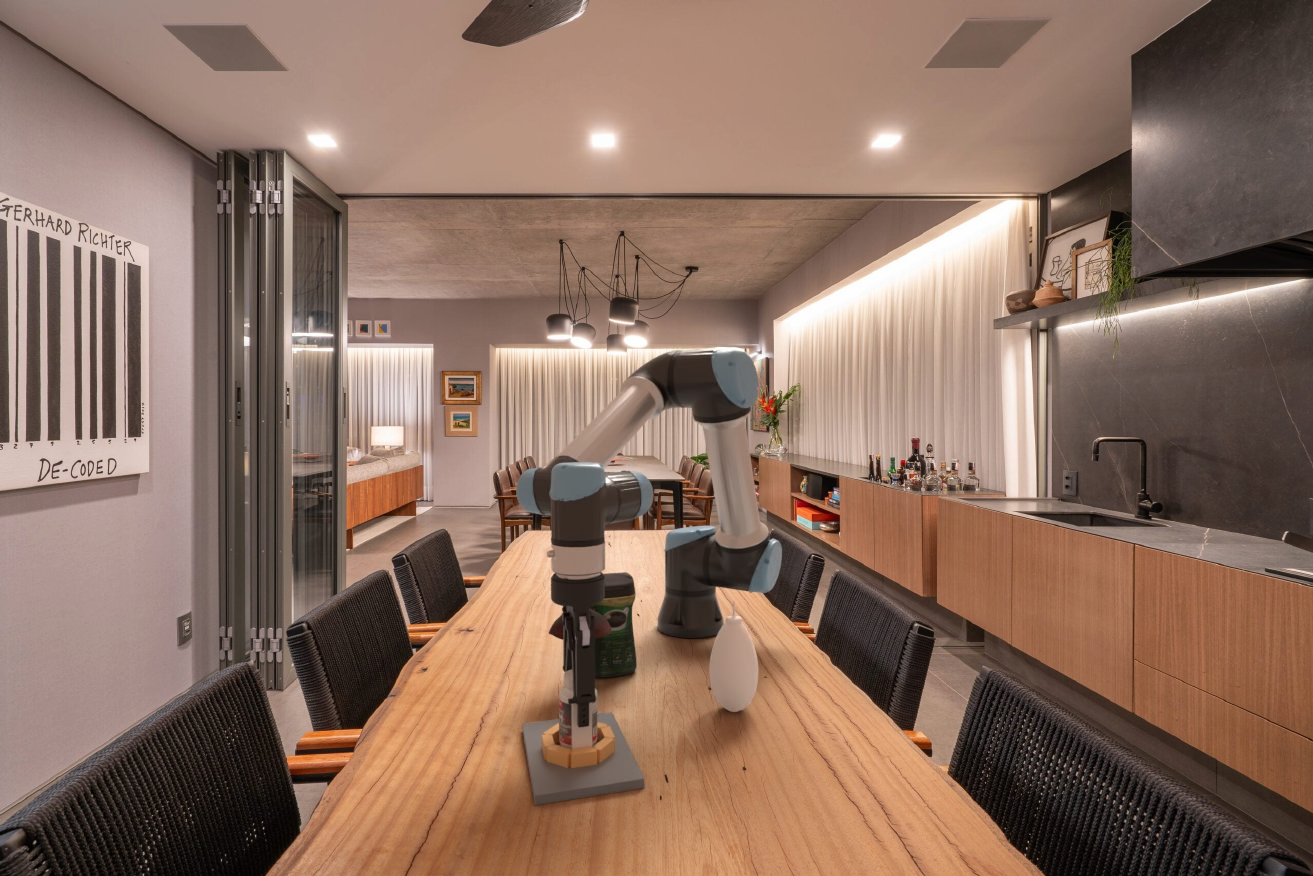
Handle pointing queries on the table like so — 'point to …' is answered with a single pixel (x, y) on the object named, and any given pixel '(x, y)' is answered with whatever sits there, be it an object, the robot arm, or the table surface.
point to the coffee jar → (616, 627)
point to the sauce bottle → (733, 665)
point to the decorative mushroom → (599, 625)
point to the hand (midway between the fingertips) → (578, 736)
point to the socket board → (579, 762)
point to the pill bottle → (566, 713)
